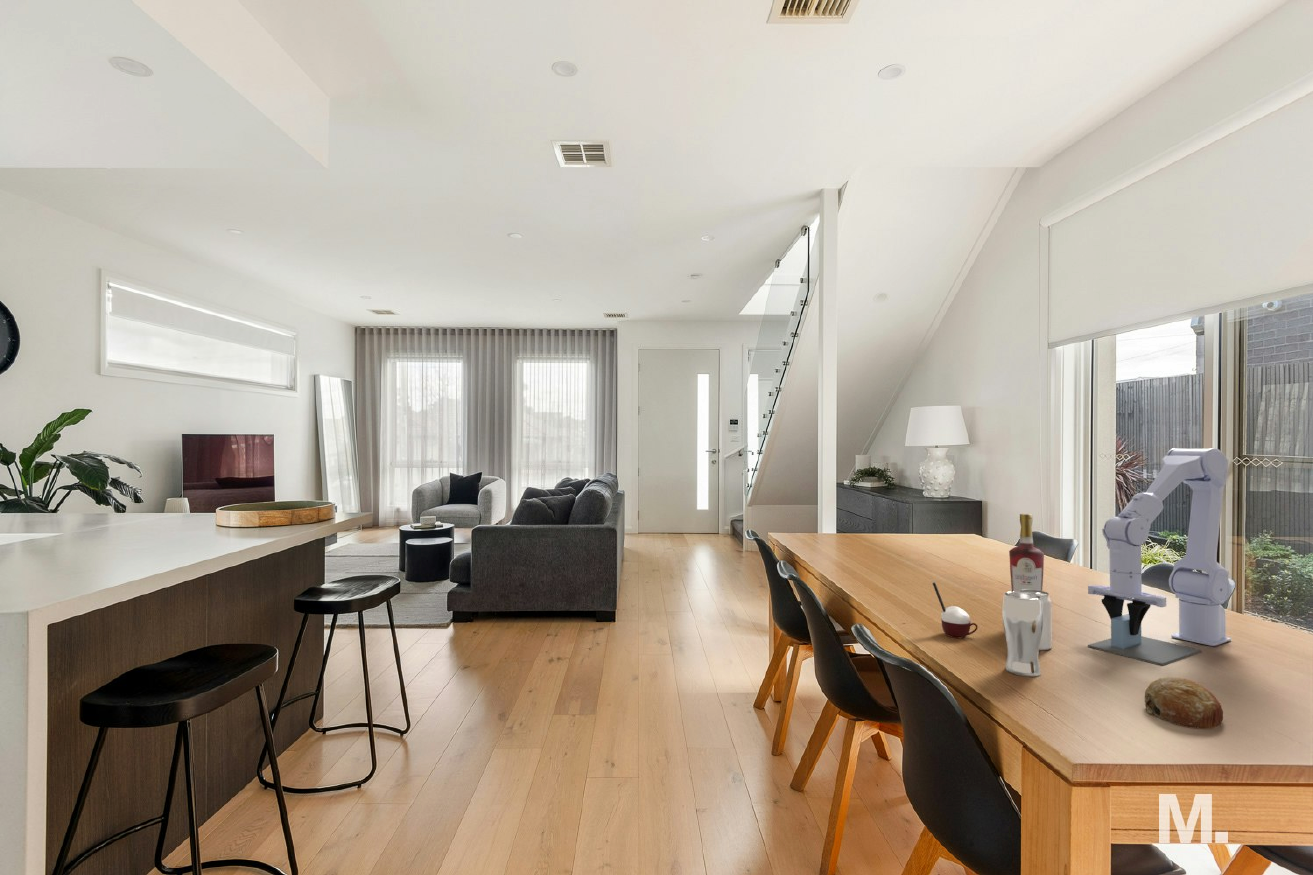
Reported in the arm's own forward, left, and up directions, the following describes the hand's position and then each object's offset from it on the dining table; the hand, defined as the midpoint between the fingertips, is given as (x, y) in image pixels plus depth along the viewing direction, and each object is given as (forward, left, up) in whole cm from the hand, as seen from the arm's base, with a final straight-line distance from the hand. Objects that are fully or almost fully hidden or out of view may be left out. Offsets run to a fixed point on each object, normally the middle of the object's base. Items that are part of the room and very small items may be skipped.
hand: (1125, 632), depth 141 cm
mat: (-1, +3, -3) cm, 4 cm away
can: (+18, -10, -3) cm, 21 cm away
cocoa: (+26, -24, -3) cm, 36 cm away
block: (0, 0, -3) cm, 3 cm away
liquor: (+7, -18, -3) cm, 20 cm away
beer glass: (+36, -2, -3) cm, 36 cm away
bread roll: (+33, +23, -3) cm, 41 cm away
